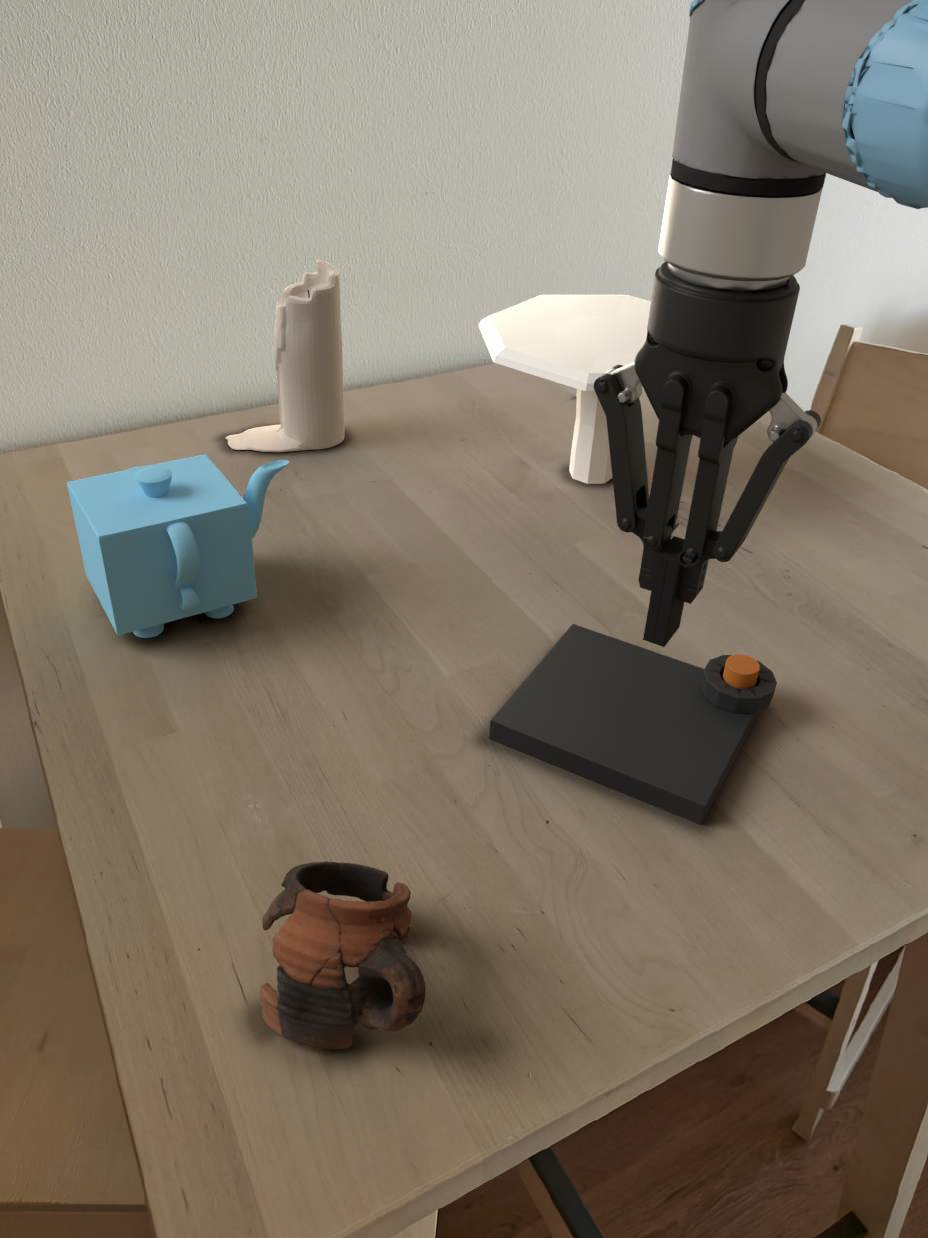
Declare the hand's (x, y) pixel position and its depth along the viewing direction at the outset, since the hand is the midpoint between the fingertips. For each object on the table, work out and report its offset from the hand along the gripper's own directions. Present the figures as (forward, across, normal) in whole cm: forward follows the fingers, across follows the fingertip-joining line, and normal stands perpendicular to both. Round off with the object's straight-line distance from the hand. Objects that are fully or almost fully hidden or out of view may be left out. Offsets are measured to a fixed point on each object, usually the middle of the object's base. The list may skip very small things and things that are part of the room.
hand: (661, 633), depth 66 cm
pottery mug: (+14, +7, +25) cm, 30 cm away
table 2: (+14, +24, -44) cm, 51 cm away
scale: (+14, +3, -6) cm, 15 cm away
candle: (+14, +58, -31) cm, 67 cm away
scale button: (+10, -3, -12) cm, 16 cm away
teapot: (+14, +43, -1) cm, 45 cm away
